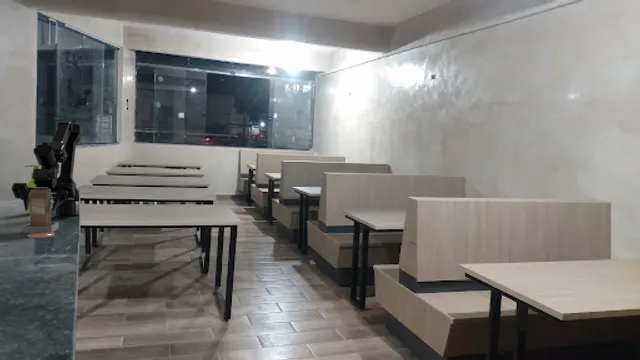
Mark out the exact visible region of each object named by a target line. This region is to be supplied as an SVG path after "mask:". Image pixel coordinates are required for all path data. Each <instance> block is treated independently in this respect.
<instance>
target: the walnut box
mask: <svg viewBox="0 0 640 360" xmlns="http://www.w3.org/2000/svg"><path fill="white" fill-rule="evenodd" d="M29 217H30V222H29V223H30V226H31V227H44V226H51V222H52V194H51V189H33V190H30V214H29Z"/></svg>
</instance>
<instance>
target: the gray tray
mask: <svg viewBox="0 0 640 360" xmlns="http://www.w3.org/2000/svg"><path fill="white" fill-rule="evenodd" d="M59 228H60V226H59V221H51V226H44V227H31V226H30V222H29V223H28V224H25V225H24V226H22V234H30V233H36V232H53V233H54V232H55V231H56V230H57V229H59Z"/></svg>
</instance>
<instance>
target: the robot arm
mask: <svg viewBox="0 0 640 360" xmlns="http://www.w3.org/2000/svg"><path fill="white" fill-rule="evenodd" d="M56 127H57V128H56V130H55V133H54V135H53V137H52V140H51V142H46V141H45V142H41V144H39V145H37V146H35V147H33V154H34V157H35V159H36V162H37V165H40V168H38V169H34V168H32V169H33V170H32V173H33V176H32V178H33V179H34V185H36V187H28V182H14V183H12V185H11V187H10V189H11V190H12V193H13V195H14V197H15V199H20V200H21V201H23V206H24V210H25V212H27V211H29V209H28V208H29V204H30V196H29V193H30V190H33V189H51V197H52V201H53V203H52V206H51V211H53V212H54V211H55V214H54V217H55V216H56V217H59V218H60V217H61V218H69V217H76V216H79V214H78V213H77V202H80V193H79V190H78V187H77V184H76V182H75V181H74V178H73V175H74V166H75V158H76V157H75V156H76V148H77V144H79V142H80V141H82V140H81V139H82V136H83V133H84V127H83V126H82V125H81V124H80V123H74V122H71V121H58V122H57V125H56ZM58 174H59V176H58Z"/></svg>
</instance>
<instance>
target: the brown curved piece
mask: <svg viewBox="0 0 640 360" xmlns="http://www.w3.org/2000/svg"><path fill="white" fill-rule="evenodd" d="M54 236H55V232H54V231H53V232H36V233H27V238H31V239H42V238H51V237H54Z"/></svg>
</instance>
